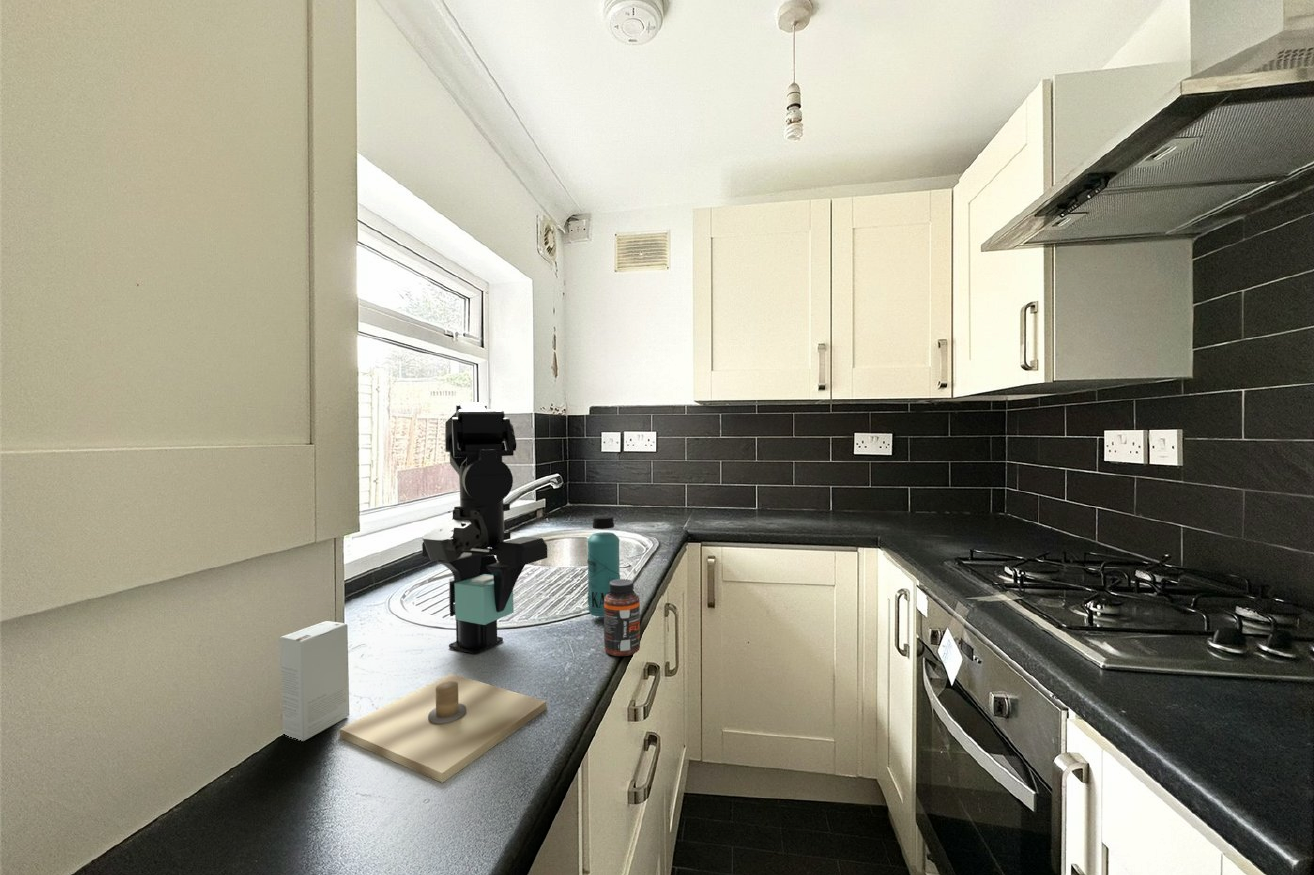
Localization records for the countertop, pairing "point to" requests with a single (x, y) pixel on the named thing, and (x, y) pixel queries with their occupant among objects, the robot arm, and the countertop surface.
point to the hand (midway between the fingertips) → (484, 608)
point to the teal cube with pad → (478, 601)
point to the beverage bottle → (601, 564)
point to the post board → (443, 725)
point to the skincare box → (314, 678)
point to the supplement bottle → (621, 619)
